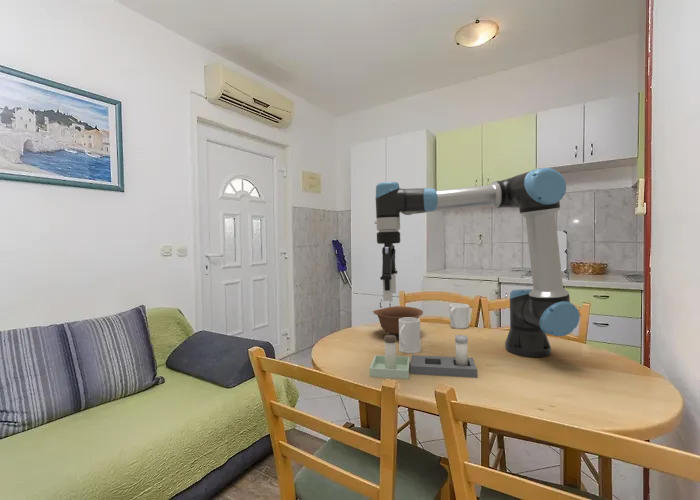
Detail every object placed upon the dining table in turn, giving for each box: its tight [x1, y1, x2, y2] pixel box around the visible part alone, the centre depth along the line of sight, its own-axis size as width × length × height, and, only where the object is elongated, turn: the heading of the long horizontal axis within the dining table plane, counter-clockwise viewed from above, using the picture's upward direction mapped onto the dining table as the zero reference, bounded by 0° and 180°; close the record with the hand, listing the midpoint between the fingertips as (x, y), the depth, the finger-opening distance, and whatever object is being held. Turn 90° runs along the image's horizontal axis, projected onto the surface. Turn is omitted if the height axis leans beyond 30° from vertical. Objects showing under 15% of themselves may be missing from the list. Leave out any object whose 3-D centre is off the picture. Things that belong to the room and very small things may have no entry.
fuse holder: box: [410, 334, 478, 379], centre depth 111 cm, size 20×10×12 cm, turn 78°
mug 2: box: [448, 302, 470, 330], centre depth 162 cm, size 11×9×10 cm
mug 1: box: [398, 317, 422, 354], centre depth 131 cm, size 12×8×12 cm
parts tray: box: [369, 354, 411, 380], centre depth 112 cm, size 12×12×3 cm
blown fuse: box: [383, 334, 397, 369], centre depth 112 cm, size 4×4×11 cm
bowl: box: [372, 305, 424, 339], centre depth 152 cm, size 22×22×11 cm
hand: (390, 296), depth 111 cm, fingers open, 13 cm apart
